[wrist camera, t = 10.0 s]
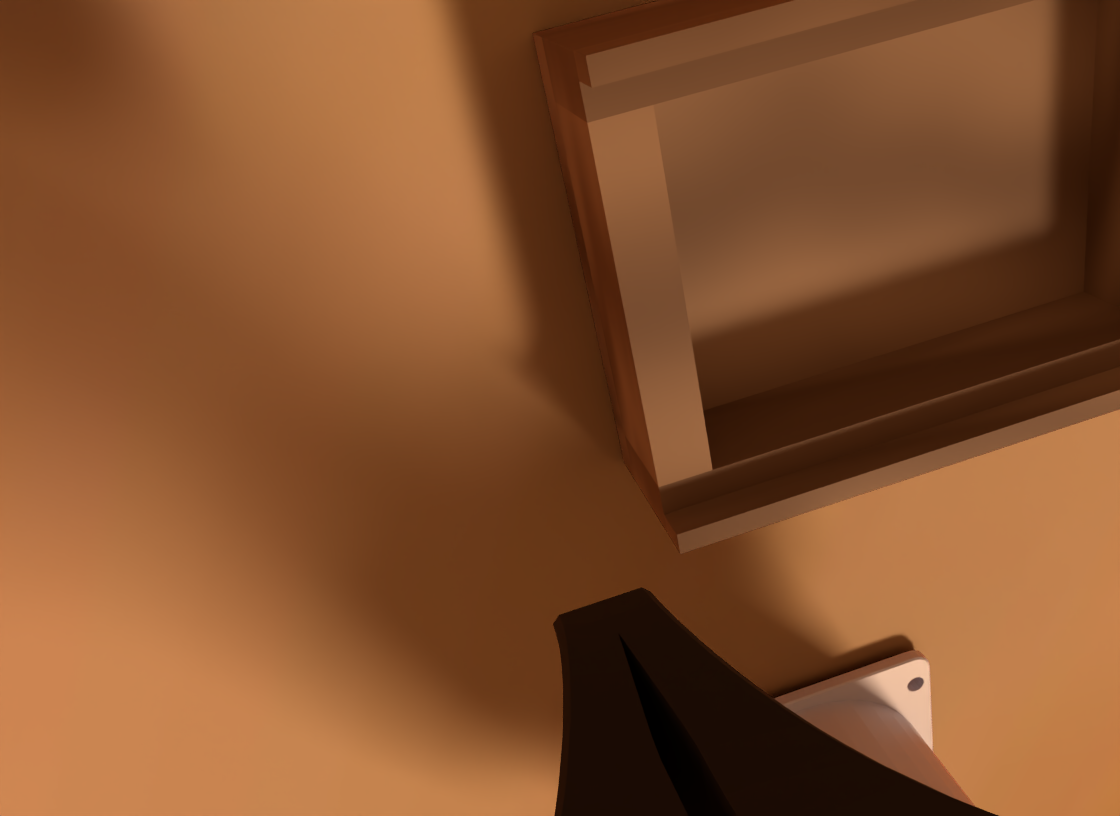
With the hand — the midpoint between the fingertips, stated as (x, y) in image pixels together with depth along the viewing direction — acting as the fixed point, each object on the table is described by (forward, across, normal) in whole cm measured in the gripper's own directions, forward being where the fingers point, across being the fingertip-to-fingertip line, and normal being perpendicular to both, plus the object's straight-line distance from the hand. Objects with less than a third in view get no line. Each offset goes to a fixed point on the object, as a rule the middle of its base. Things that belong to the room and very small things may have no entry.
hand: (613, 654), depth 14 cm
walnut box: (+9, -9, -2) cm, 13 cm away
